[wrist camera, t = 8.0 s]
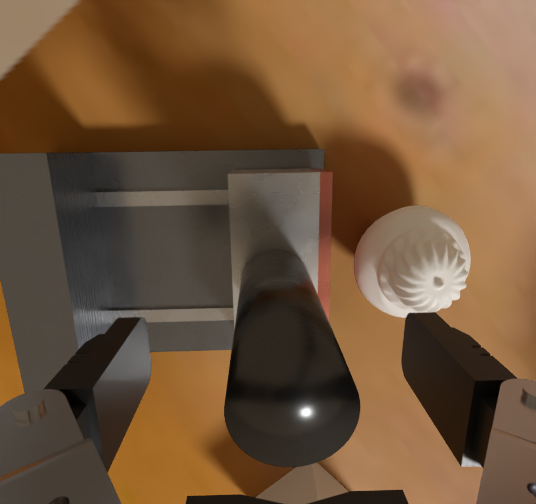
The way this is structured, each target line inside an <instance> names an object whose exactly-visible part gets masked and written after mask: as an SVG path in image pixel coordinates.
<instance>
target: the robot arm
mask: <svg viewBox="0 0 536 504" xmlns="http://www.w3.org/2000/svg"><path fill="white" fill-rule="evenodd" d="M402 369H403V374H404V376H405V379H406V381H407V382H408V384H409V385H410V387H411V388H412V390H413V392H414V393H415V395H416V396H417V398H418V399H419V401H420V403H421V404H422V406H423V407H424V409H425V410H426V412H427V414H428V415H429V417H430V418H431V420H432V421H433V423H434V425H435V426H436V428H437V429H438V431H439V433H440V434H441V436H442V437H443V439H444V440H445V442H446V444H447V445H448V447H449V448H450V450H451V451H452V453H453V455H454V456H455V458H456V459H457V461H458V462H459V464H460V466H461V467H465V466H482V467H483V473H482V478H481V483H480V488H479V493H478V498H477V503H476V504H536V381H533V380H528V379H518V378H517V377H516V376H514V375H513V374H512V373H511V372H510V371H509V370H508V369H507V368H505V367H504V366H503V365H502V364H501V363H500V362H499V361H498V360H496V359H495V358H494V357H493V356H490V353H489V352H487V351H486V350H485V349H484V348H481V345H480V344H478V343H477V342H476V341H475V340H474V339H473V338H472V337H471V336H469V335H467V334H465V333H463V332H461V331H459V330H457V329H455V328H451V327H450V326H449V325H448V324H447V323H446V322H445V321H444V320H443V319H442V318H441V317H440V316H438V315H437V314H436V313H435V312H418V313H408V314H407V317H406V320H405V330H404V340H403V350H402ZM150 376H151V358H150V348H149V339H148V329H147V322H146V319H145V318H144V317H123V318H117V319H116V321H115V322H114V323H113V324H112V325H111V327H110V328H109V329H108V330H107V331H106V333H105V334H98V335H97V336H95V337H93V338H92V339H90V340H88V341H87V342H85V343H84V344H83V345H82V346H81V347H80V348H79V349H78V351H77V352H76V353H75V355H73V356H72V357H71V358H70V360H69V361H68V362H67V364H65V365H64V366H63V367H62V369H61V370H60V371H59V372H58V373H57V374H56V375H55V376H54V378H53V379H52V380H51V381H50V382H49V383H48V384H47V385H46V387H45V388H44V389H42V390H36V391H32V392H28V393H25V394H22V395H20V396H17V397H15V398H13V399H11V400H9V401H8V402H6V403H5V404H3V405H2V406H0V504H121V502H120V499H119V497H118V495H117V493H116V491H115V489H114V486H113V484H112V482H111V480H110V478H109V476H108V470H109V468H110V466H111V464H112V462H113V460H114V457H115V455H116V453H117V451H118V449H119V447H120V445H121V442H122V440H123V438H124V436H125V434H126V432H127V429H128V427H129V425H130V423H131V421H132V419H133V417H134V414H135V412H136V410H137V408H138V406H139V404H140V401H141V399H142V397H143V395H144V393H145V391H146V389H147V386H148V384H149V381H150ZM186 504H283V503H278V502H273V501H269V500H264V499H259V498H255V497H250V496H245V495H208V496H187V500H186ZM308 504H408V502H407V499H406V497H405V494H404V492H403V490H380V491H350V492H346V493H343V494H339V495H336V496H332V497H329V498H325V499H322V500H318V501H315V502H311V503H308Z"/></svg>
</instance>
